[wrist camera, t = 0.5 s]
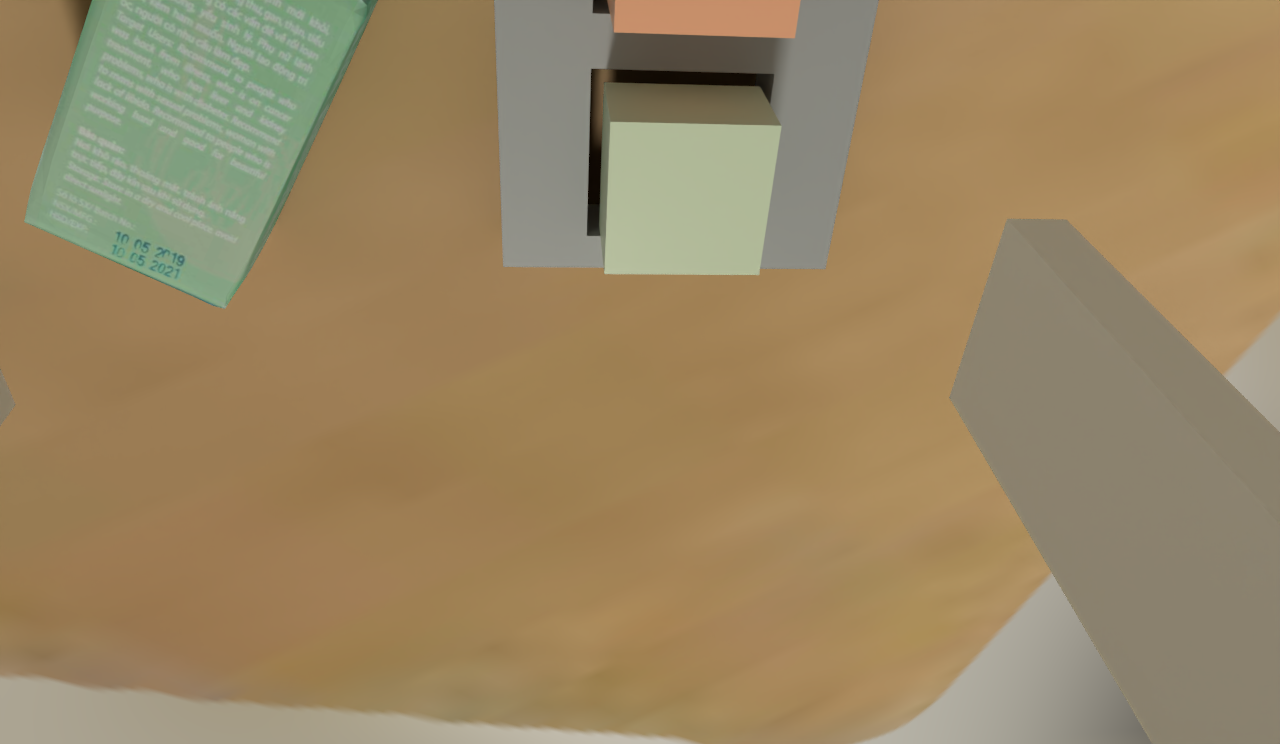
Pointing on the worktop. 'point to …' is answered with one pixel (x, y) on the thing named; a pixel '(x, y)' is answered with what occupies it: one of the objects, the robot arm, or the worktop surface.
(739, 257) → the sage button
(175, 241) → the box
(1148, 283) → the worktop surface
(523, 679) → the worktop surface
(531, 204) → the button board
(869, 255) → the worktop surface
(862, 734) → the worktop surface
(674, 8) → the terracotta button
